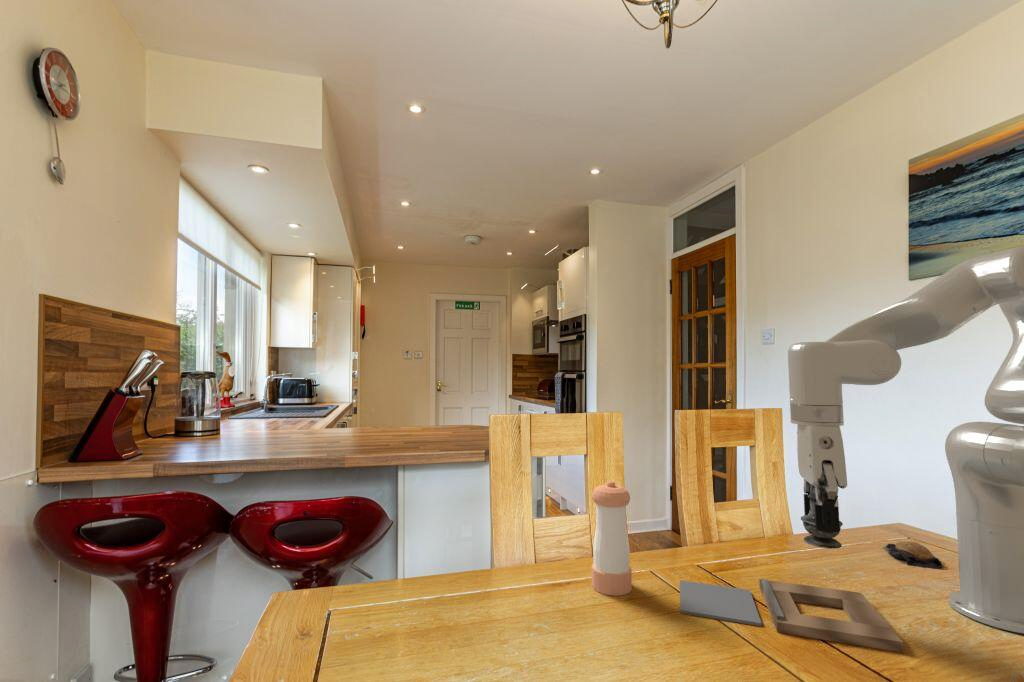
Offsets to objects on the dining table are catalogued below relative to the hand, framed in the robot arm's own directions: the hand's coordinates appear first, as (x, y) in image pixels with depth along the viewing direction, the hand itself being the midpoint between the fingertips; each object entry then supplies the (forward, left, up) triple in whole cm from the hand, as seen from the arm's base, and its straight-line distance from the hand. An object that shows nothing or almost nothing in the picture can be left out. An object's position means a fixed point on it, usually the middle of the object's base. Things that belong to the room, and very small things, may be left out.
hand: (821, 523), depth 79 cm
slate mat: (+16, +1, -15) cm, 22 cm away
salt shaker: (0, 0, -3) cm, 3 cm away
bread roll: (-26, -35, -16) cm, 46 cm away
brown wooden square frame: (0, 0, -15) cm, 15 cm away
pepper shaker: (+34, +1, -15) cm, 38 cm away
